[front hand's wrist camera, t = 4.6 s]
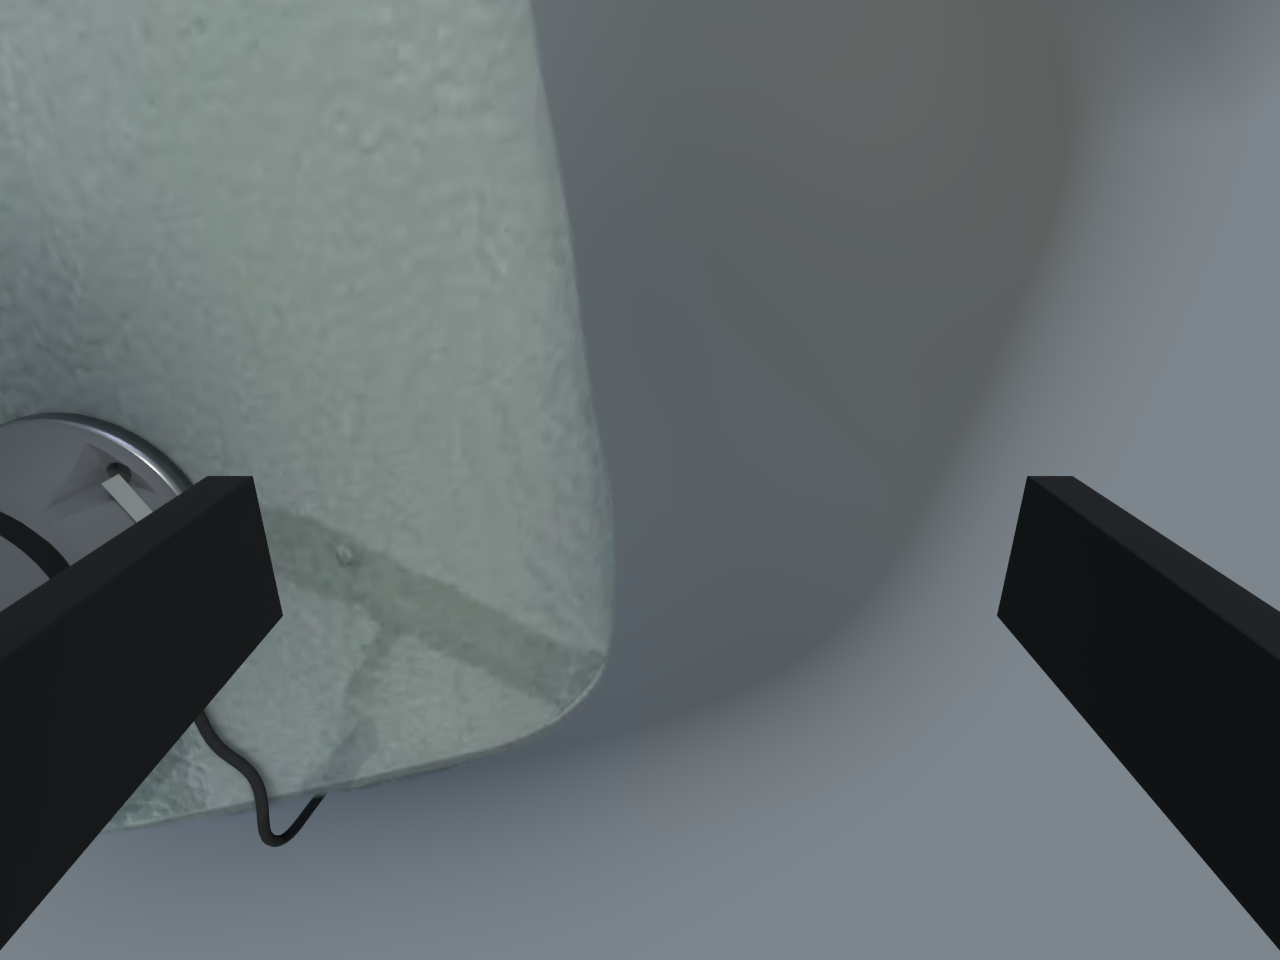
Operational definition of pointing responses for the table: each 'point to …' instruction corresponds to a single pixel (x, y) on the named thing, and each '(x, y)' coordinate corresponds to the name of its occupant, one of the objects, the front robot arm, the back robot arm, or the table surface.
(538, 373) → the table surface
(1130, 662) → the front robot arm
